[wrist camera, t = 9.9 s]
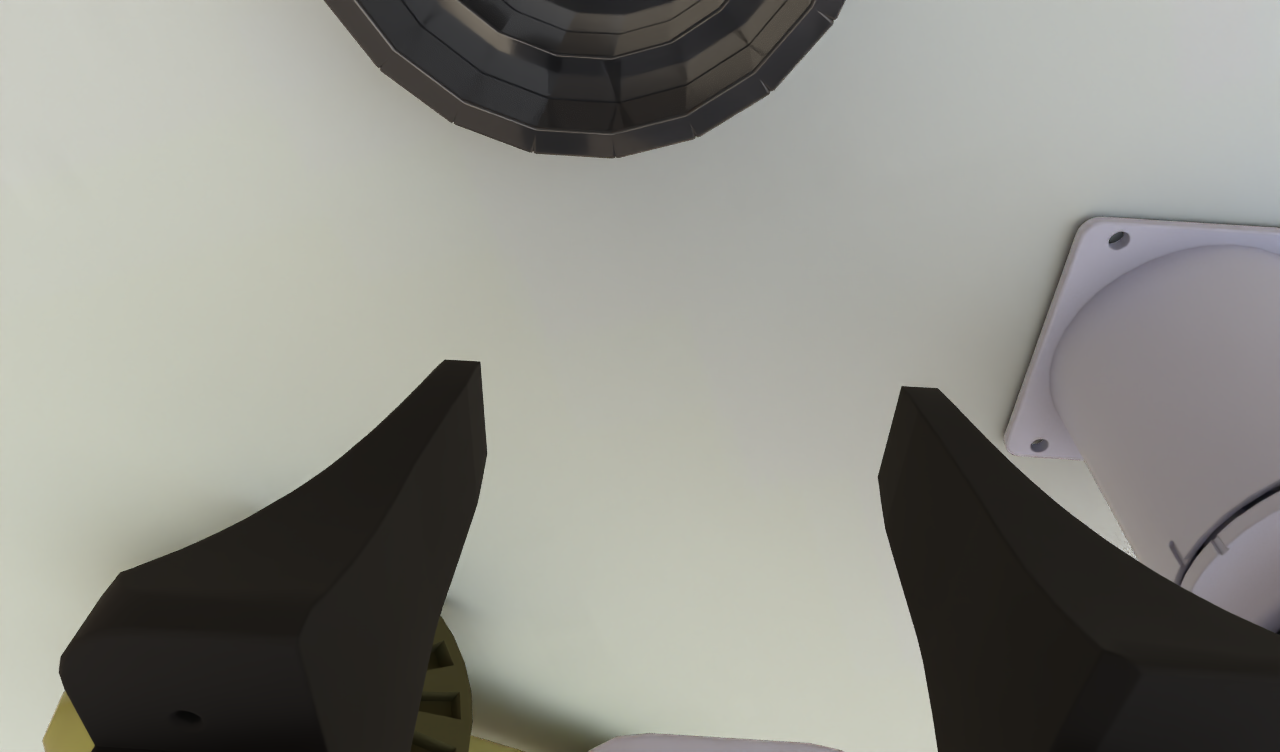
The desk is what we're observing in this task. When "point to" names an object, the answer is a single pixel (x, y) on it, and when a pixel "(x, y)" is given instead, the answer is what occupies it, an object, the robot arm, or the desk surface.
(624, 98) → the bowl
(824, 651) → the desk surface
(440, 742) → the cannon
